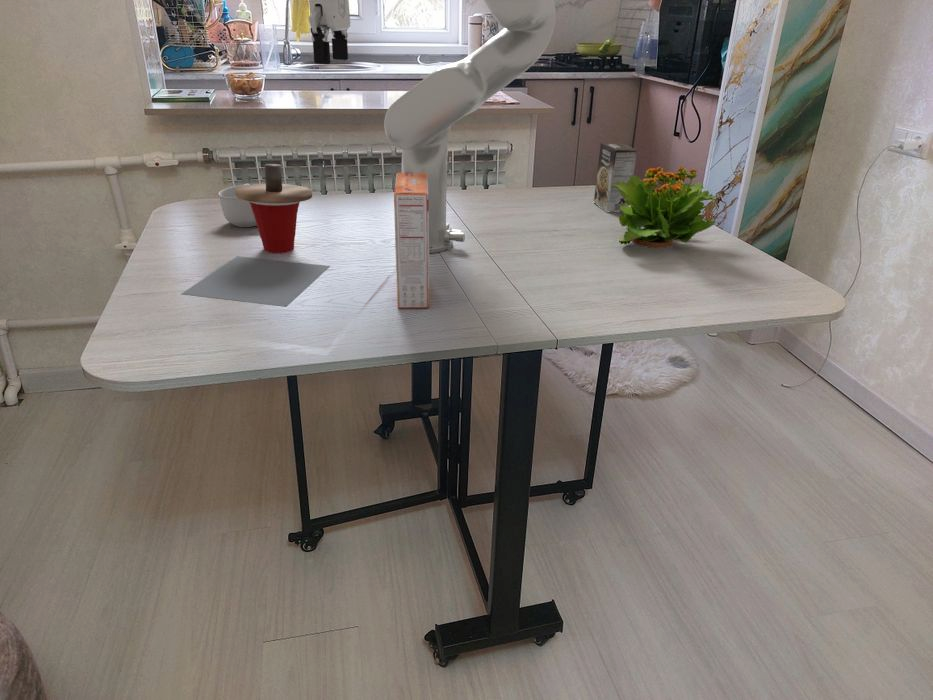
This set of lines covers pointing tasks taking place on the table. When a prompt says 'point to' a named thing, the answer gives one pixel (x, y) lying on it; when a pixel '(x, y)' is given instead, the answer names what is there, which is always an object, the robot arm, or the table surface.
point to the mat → (258, 281)
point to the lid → (273, 189)
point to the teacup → (236, 208)
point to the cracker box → (412, 239)
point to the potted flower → (662, 208)
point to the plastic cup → (276, 225)
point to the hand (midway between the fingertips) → (331, 61)
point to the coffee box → (613, 174)
